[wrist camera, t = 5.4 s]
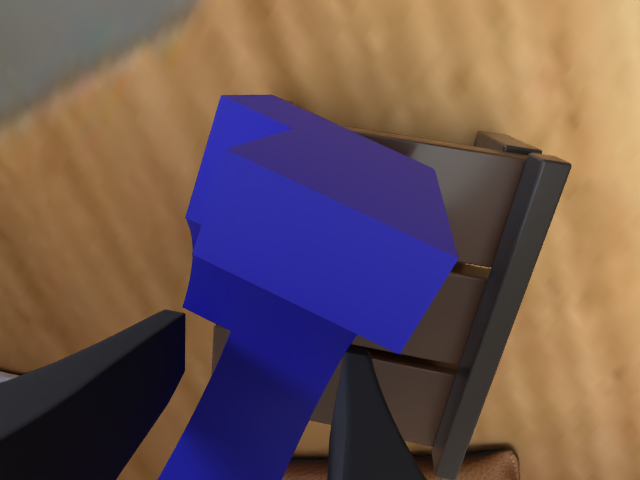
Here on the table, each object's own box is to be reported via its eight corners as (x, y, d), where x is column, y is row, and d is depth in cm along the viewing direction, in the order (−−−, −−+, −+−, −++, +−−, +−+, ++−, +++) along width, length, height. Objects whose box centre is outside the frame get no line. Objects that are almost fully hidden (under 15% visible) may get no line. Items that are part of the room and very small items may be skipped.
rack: (246, 334, 22) (198, 425, 16) (265, 97, 17) (208, 106, 12) (435, 373, 21) (455, 482, 15) (507, 134, 17) (574, 163, 11)
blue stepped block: (271, 94, 10) (113, 97, 5) (434, 168, 10) (458, 259, 5) (162, 415, 15) (17, 601, 10) (273, 471, 15) (189, 696, 9)
